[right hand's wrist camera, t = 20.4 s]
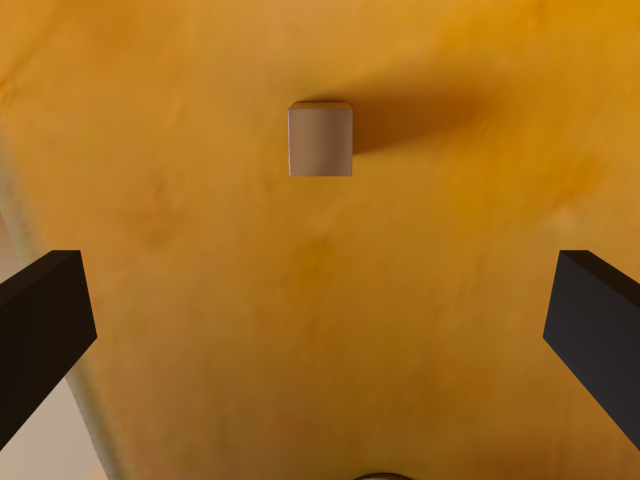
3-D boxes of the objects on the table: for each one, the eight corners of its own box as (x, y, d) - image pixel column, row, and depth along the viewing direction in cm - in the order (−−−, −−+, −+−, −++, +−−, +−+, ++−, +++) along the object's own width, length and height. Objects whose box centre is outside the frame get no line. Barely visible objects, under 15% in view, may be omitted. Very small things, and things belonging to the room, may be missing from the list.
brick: (295, 157, 52) (289, 176, 42) (294, 102, 50) (287, 108, 40) (345, 156, 52) (351, 176, 42) (346, 102, 50) (353, 108, 40)
